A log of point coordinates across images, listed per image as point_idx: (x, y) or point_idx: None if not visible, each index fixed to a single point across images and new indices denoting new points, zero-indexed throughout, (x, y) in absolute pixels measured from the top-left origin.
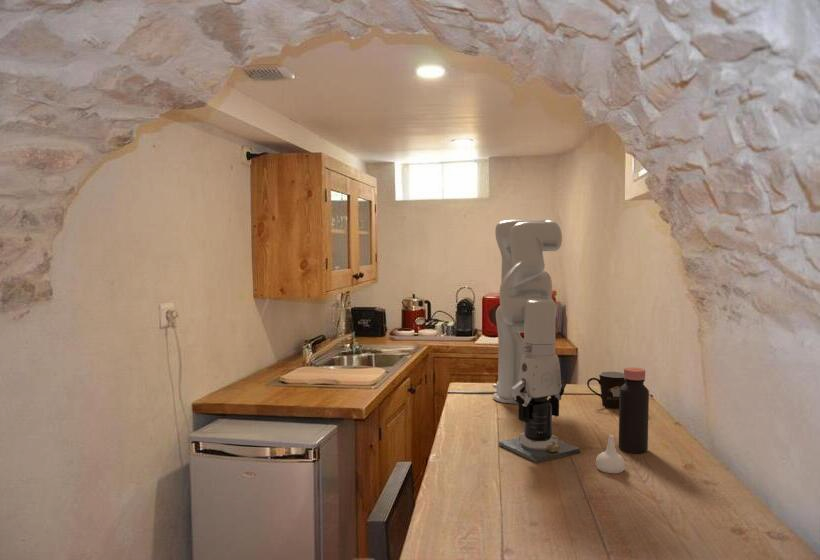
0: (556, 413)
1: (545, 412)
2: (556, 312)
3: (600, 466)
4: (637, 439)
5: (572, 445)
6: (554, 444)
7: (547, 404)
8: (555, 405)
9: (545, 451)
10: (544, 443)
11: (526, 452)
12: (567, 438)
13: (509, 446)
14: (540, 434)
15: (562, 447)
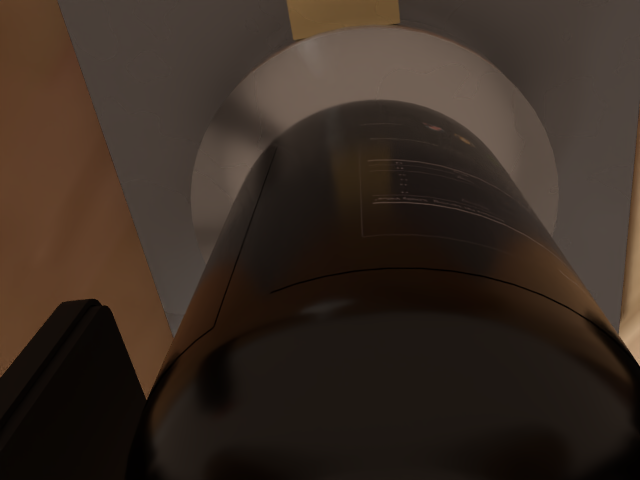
0: (89, 324)
1: (413, 238)
2: None
3: None
4: None
5: (80, 60)
6: (309, 22)
7: (339, 364)
8: (38, 436)
9: (418, 15)
10: (434, 36)
11: (604, 64)
12: (23, 281)
13: (622, 249)
14: (450, 125)
15: (199, 49)
